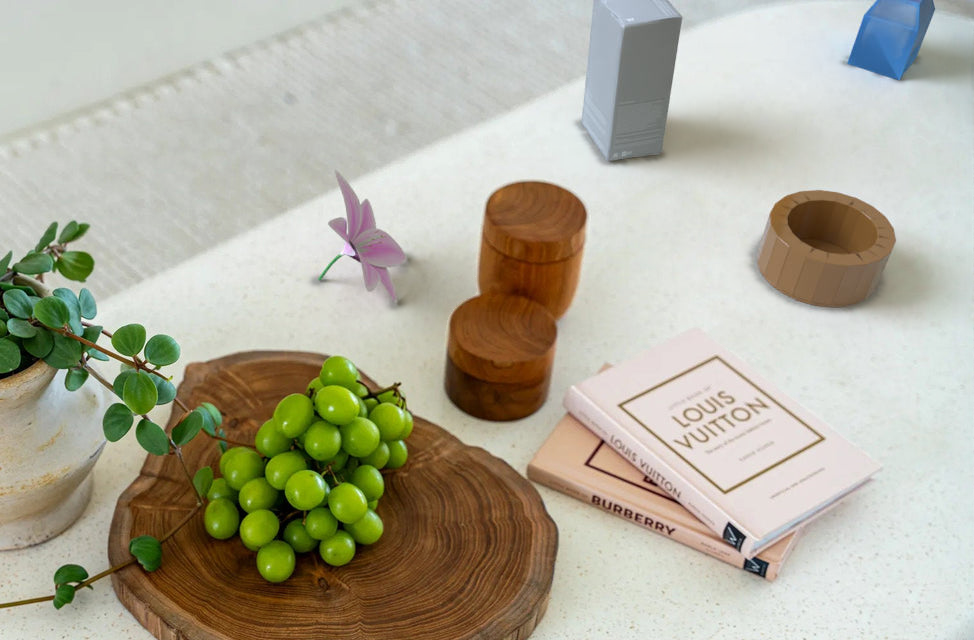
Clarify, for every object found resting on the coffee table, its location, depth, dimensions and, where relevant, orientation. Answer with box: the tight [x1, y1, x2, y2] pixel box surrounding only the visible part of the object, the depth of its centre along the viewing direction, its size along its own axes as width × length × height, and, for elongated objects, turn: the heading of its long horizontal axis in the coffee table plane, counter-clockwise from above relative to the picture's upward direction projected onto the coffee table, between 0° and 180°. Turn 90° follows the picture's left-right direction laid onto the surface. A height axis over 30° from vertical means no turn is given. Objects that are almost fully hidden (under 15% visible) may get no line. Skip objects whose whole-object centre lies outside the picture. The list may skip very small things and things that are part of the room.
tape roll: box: [756, 189, 897, 308], centre depth 108 cm, size 11×11×5 cm
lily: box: [317, 169, 408, 304], centre depth 105 cm, size 12×12×10 cm
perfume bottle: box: [846, 0, 936, 81], centre depth 132 cm, size 6×6×12 cm
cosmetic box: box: [580, 0, 683, 162], centre depth 119 cm, size 8×7×16 cm
